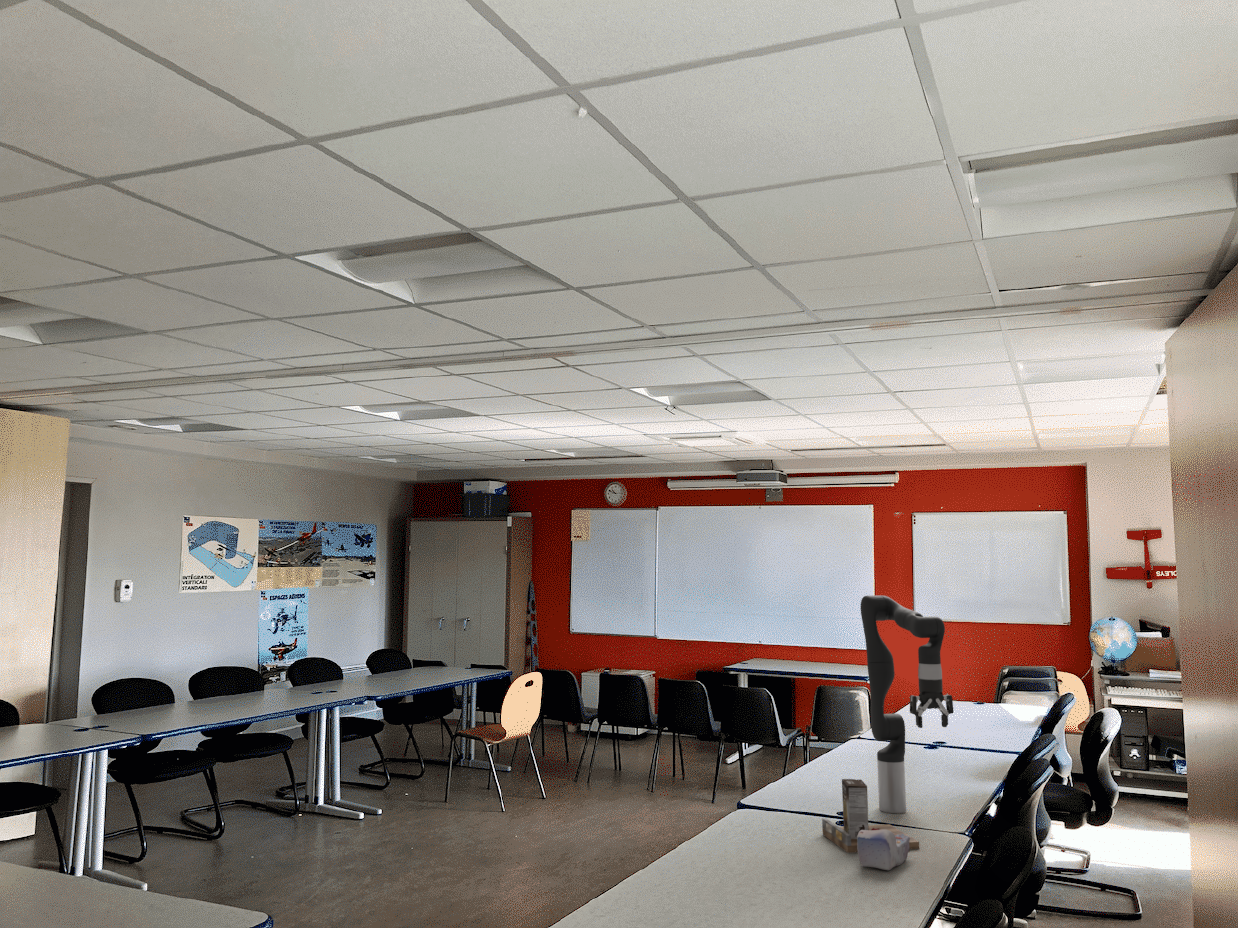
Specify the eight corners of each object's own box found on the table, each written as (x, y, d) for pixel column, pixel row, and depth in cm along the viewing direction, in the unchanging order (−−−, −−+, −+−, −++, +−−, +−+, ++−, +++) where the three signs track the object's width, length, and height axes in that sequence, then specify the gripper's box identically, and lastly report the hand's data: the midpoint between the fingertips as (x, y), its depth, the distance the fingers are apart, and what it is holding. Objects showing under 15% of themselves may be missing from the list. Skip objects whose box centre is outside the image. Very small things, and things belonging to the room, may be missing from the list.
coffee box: (842, 831, 295) (841, 778, 297) (863, 831, 295) (861, 778, 297) (848, 839, 286) (846, 785, 288) (869, 839, 286) (867, 785, 288)
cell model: (852, 829, 265) (866, 814, 283) (853, 869, 263) (867, 852, 281) (899, 834, 259) (910, 819, 277) (901, 875, 258) (912, 857, 276)
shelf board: (821, 834, 299) (821, 818, 299) (889, 830, 302) (889, 814, 303) (846, 852, 279) (846, 835, 280) (919, 848, 283) (918, 831, 283)
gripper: (915, 679, 304) (917, 729, 303) (955, 678, 306) (958, 728, 305) (904, 676, 312) (906, 725, 310) (944, 675, 314) (946, 724, 312)
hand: (932, 727), depth 307 cm, fingers open, 8 cm apart
